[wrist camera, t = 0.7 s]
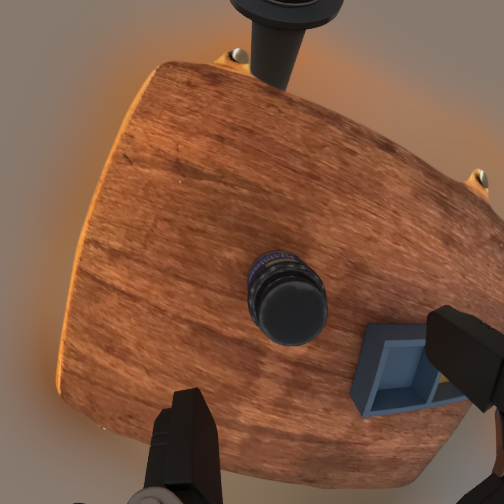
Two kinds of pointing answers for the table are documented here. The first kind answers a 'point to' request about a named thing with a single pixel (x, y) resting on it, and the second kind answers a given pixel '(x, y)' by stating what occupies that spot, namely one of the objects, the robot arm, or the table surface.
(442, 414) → the table surface
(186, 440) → the robot arm
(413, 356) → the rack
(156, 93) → the table surface
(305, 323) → the pill bottle
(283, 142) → the table surface
